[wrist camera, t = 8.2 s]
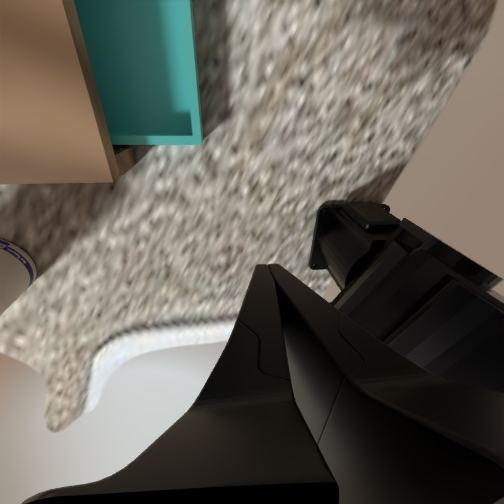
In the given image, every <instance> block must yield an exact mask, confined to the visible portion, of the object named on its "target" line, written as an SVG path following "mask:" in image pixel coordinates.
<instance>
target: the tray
mask: <svg viewBox="0 0 504 504" xmlns="http://www.w3.org/2000/svg"><path fill="white" fill-rule="evenodd" d="M74 3H75V7H76V11H77V15H78V18H79V22H80V26H81V30H82V34H83V37H84V41H85V45H86V49H87V53H88V56H89V60H90V64H91V68H92V72H93V75H94V79H95V83H96V87H97V90H98V94H99V98H100V102H101V106H102V109H103V113H104V117H105V121H106V125H107V128H108V132H109V136H110V140H111V143H112V145H202V142H203V140H204V139H203V127H202V114H201V102H200V90H199V77H198V65H197V52H196V40H195V28H194V15H193V3H192V0H74Z"/></svg>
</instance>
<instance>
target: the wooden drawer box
mask: <svg viewBox="0 0 504 504" xmlns="http://www.w3.org/2000/svg"><path fill="white" fill-rule="evenodd" d="M134 165H136V163H135V158H134V154H133V149H132V147H112V143H111V140H110V136H109V132H108V128H107V125H106V121H105V117H104V113H103V109H102V106H101V102H100V98H99V94H98V90H97V87H96V83H95V79H94V75H93V72H92V68H91V64H90V60H89V56H88V53H87V49H86V45H85V41H84V37H83V34H82V30H81V26H80V22H79V18H78V15H77V11H76V7H75V3H74V0H0V184H48V183H102V182H114V181H115V180H117V179H118V178H119V177H121V176H122V175H123V174H124V173H126V172H127V171H128V170H129V169H131V168H132V167H133V166H134Z"/></svg>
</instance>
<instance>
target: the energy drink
mask: <svg viewBox="0 0 504 504" xmlns="http://www.w3.org/2000/svg"><path fill="white" fill-rule="evenodd" d="M35 278H36V267H35V265H34V262H33V261H32V259H31V258H30V256H29V255H28V254H27V253H26V252H25V251H24V250H22V249H21V248H19V247H18V246H16V245H14V244H12V243H10V242H7V241H5V240H1V239H0V315H1V314H2V313H3V312H4V311H5V310H6V309H7V308H8V307H9V306H10V305H11V304H12V303H13V302H14V301H15V300H16V299H17V298H18V297H19V296H20V295H21V294H22V293H23V292H24V291H25V290H26V289H27V288H28V287H29V286H30V285H31V284H32V283H33V282H34V281H35Z"/></svg>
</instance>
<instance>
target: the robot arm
mask: <svg viewBox="0 0 504 504" xmlns="http://www.w3.org/2000/svg"><path fill="white" fill-rule="evenodd" d="M384 208H385V209H384ZM324 210H326V212H325V213H324V214H322V212H323V211H324ZM389 212H390V207H389V206H387V205H386V204H375V203H374V202H346V203H344V204H343V205H332V206H321V207H320V208H319V209H318V211H317V217H316V223H315V229H314V235H313V241H312V247H311V253H310V260H309V266H310V268H311V269H312V270H320V269H327V270H328V272H329V273H330V275H331V276H332V278H333V279H334V281H335V282H336V284H337V286H338V287H339V288H340V290H341V292H340V293H339V294H338V296H337V297H336V298H335V299H334V300H333V301H332V302H330V303H329V302H327V301H326V300H325V299H323V298H322V297H321V296H320V295H318V294H317V293H316V292H314V291H313V290H312V289H310V288H309V287H308V286H307V285H305V284H304V283H303V282H301V281H300V280H299V279H297V278H296V277H295V276H294V275H292V274H291V273H290V272H288V271H287V270H286V269H284V268H283V267H282V266H281V265H279V264H268V265H266V264H258V265H256V267H255V270H254V272H253V275H252V278H251V281H250V284H249V286H248V289H247V292H246V295H245V298H244V300H243V303H242V306H241V309H240V312H239V314H238V317H237V320H236V322H235V325H234V328H233V330H232V333H231V335H230V338H229V340H228V342H227V345H226V347H225V349H224V350H223V352H222V354H221V356H220V358H219V360H218V362H217V363H216V365H215V367H214V369H213V371H212V372H211V374H210V376H209V378H208V380H207V382H206V383H205V385H204V387H203V389H202V390H201V392H200V394H199V396H198V397H197V399H196V400H195V402H194V403H193V405H192V406H191V407H190V408H189V410H188V411H187V412H186V413H185V414H184V415H183V416H182V417H181V418H180V419H178V420H177V421H176V422H175V423H174V424H173V425H172V426H171V427H170V428H169V429H168V430H166V431H165V432H164V433H163V434H162V435H161V436H160V437H159V438H158V439H157V440H155V441H154V442H153V443H152V444H151V445H150V446H149V447H148V448H147V449H146V450H145V451H144V452H142V453H141V454H140V455H139V456H138V457H137V458H136V459H135V460H134V461H132V462H131V463H130V464H129V465H127V466H126V467H125V468H123V469H122V470H120V471H118V472H116V473H115V474H113V475H111V476H109V477H106V478H104V479H102V480H99V481H96V482H92V483H88V484H82V485H74V486H67V487H61V488H55V489H50V490H47V491H44V492H41V493H38V494H36V495H34V496H32V497H30V498H28V499H26V500H25V501H24V502H23V503H22V504H504V297H503V296H502V295H500V294H499V293H497V292H495V291H494V290H493V289H492V288H494V287H495V286H496V285H497V284H499V283H500V282H501V281H503V279H502V278H500V277H498V276H497V275H496V274H494V273H493V272H491V271H490V270H488V269H486V268H485V267H483V266H482V265H480V264H479V263H477V262H476V261H474V260H472V259H471V258H469V257H467V256H466V255H464V254H462V253H461V252H459V251H458V250H456V249H455V248H453V247H451V246H450V245H448V244H447V243H445V242H443V241H442V240H440V239H438V238H437V237H435V236H434V235H432V234H430V233H429V232H427V231H425V230H424V229H422V228H420V227H419V226H417V225H416V224H414V223H412V222H411V221H409V220H407V219H406V218H403V220H402V221H400V219H398V218H396V217H395V216H393V215H392V214H390V213H389ZM313 264H316V265H314V266H313Z"/></svg>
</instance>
